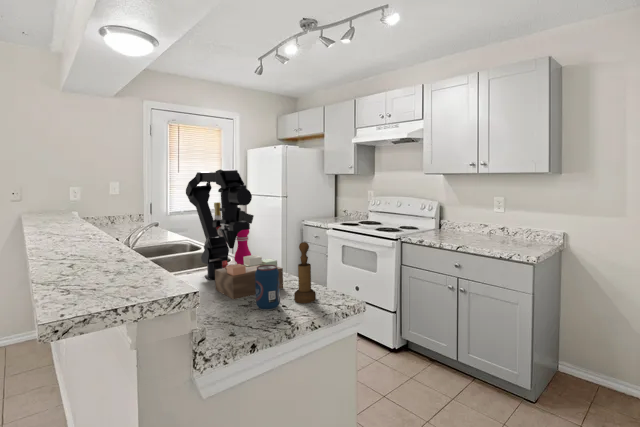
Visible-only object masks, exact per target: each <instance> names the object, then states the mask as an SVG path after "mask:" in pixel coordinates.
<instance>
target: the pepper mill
mask: <svg viewBox="0 0 640 427" xmlns="http://www.w3.org/2000/svg"><path fill="white" fill-rule="evenodd" d="M249 234H250V229H248V230H242V231H240V232H239V233H238V234H237V237H236V240H235V241H237V247H236V248H237V249H236V252H235V254H234V258H233V259H234V262H235V264H241V265H243V264H244V257H245V256H251V255H252V253H251V250H250V248H249V245H248V244H249V243H248V241H249Z"/></svg>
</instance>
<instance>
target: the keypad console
mask: <svg viewBox="0 0 640 427" xmlns="http://www.w3.org/2000/svg"><path fill="white" fill-rule="evenodd" d="M243 265H244V266H246V273H245V274H240V275H235V276H233V275H230V274H228V273H227V266H226V267H225V268H222V269H216V270H215V279H214V282H215V285H214V286H215V291H217V292H219V293H221V294H223V295H224V296H226V297H228V298H230V299H231V300H239V299H244V298H248V297H252V296H256V289H255V272H256V270H257V267H258V266H260V264H258V265H253V266H249V265H246V264H243ZM277 270H278V271H279V290H281V288H282V289H284V268H283V267H281V266H277Z"/></svg>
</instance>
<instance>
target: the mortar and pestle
mask: <svg viewBox="0 0 640 427" xmlns="http://www.w3.org/2000/svg"><path fill="white" fill-rule="evenodd" d="M309 248H310V245H309V243H308V242H307V241H303V242H300V243H299V245H298V249H299V251H300V253H301V256H300V262H301V263H298V264H297V273H298V275H297V277H298V278H297V279H298V280H297V281H298V288H297V289H296V291H295V292H294V293H293V295H294V296H293V299H294V302H295V303H299V304H309V303H314V302H315V301H316V300H317V295H316V294H317V293H316V291H315V290H314V289H312V268H311V265H312V263H309V262H308V260H309V257H308V255H307V254H308V251H309Z"/></svg>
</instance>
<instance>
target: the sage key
mask: <svg viewBox="0 0 640 427" xmlns="http://www.w3.org/2000/svg"><path fill="white" fill-rule="evenodd" d="M261 265H275V266H277V267H278V260H277V259H273V258H267V259H262V264H260V266H261Z"/></svg>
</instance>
